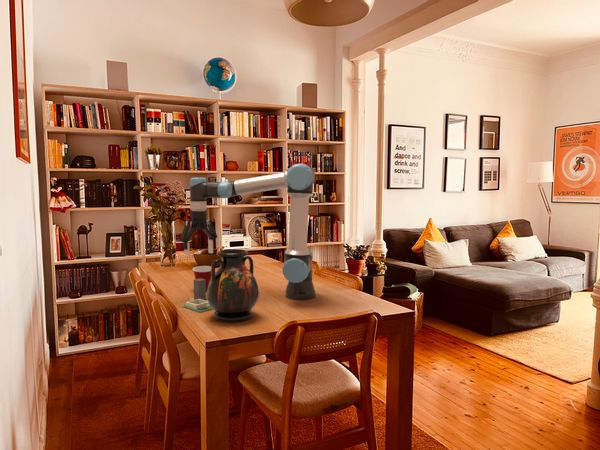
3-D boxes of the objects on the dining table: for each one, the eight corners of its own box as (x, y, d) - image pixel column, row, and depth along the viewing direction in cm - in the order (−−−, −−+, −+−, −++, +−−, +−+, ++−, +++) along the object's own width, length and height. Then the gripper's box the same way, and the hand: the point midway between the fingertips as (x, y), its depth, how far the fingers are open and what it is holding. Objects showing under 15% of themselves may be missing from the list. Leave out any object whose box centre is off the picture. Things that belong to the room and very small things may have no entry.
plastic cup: (193, 293, 226) (193, 270, 225) (192, 288, 237) (191, 266, 236) (215, 292, 230) (214, 269, 228) (213, 287, 240) (212, 265, 239)
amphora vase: (221, 329, 172) (220, 257, 169) (199, 315, 189) (197, 250, 187) (269, 319, 185) (268, 252, 182) (243, 307, 202) (243, 246, 199)
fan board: (216, 308, 201) (216, 301, 200) (200, 312, 194) (200, 305, 193) (198, 303, 209) (198, 296, 209) (182, 307, 202) (182, 300, 202)
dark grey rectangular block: (206, 299, 214) (205, 279, 214) (199, 301, 211) (198, 280, 210) (199, 298, 218) (199, 278, 217) (193, 299, 215) (192, 279, 214)
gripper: (214, 208, 223) (215, 250, 225) (171, 211, 204) (172, 257, 206) (224, 209, 218) (224, 252, 220) (180, 212, 199) (181, 258, 201)
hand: (199, 254), depth 213 cm, fingers open, 13 cm apart
